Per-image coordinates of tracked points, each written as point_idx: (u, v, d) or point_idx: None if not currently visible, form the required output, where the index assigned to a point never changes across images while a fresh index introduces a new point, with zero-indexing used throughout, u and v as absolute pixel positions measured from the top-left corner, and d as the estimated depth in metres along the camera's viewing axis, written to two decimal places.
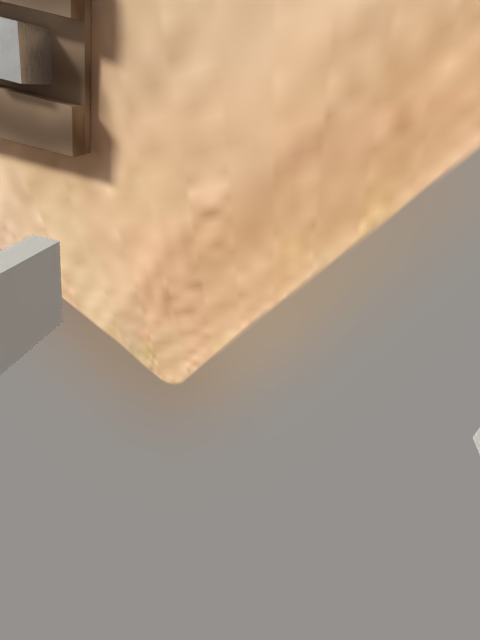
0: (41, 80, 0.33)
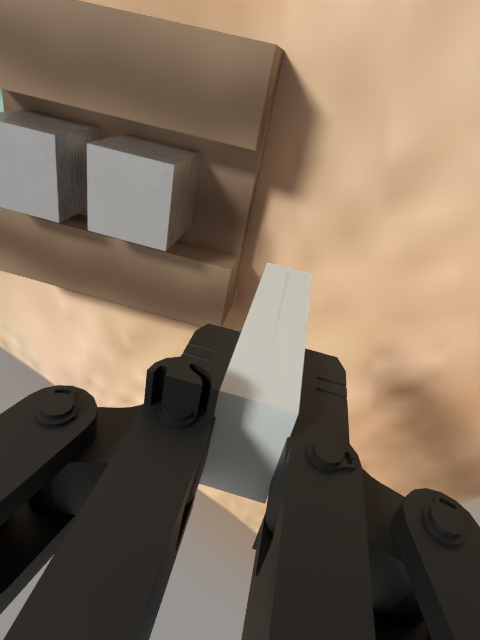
0: (183, 229, 0.21)
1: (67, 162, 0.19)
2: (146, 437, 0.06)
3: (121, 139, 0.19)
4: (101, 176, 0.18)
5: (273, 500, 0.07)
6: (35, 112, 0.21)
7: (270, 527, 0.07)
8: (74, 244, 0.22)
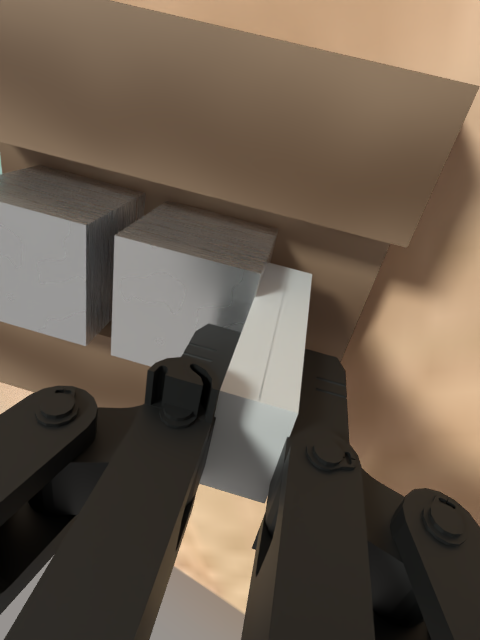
0: None
1: (102, 257, 0.12)
2: (146, 437, 0.06)
3: (163, 215, 0.13)
4: (136, 284, 0.11)
5: (273, 500, 0.07)
6: (48, 170, 0.14)
7: (270, 527, 0.07)
8: (102, 355, 0.15)
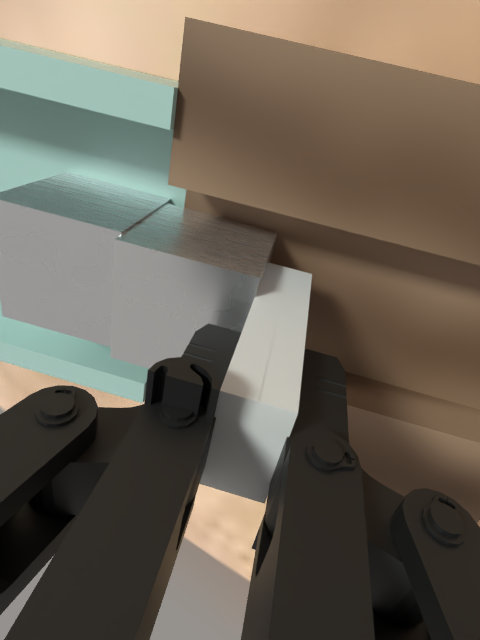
0: None
1: None
2: (146, 437, 0.06)
3: (163, 219, 0.13)
4: (136, 287, 0.11)
5: (272, 500, 0.07)
6: (76, 177, 0.14)
7: (269, 527, 0.07)
8: None
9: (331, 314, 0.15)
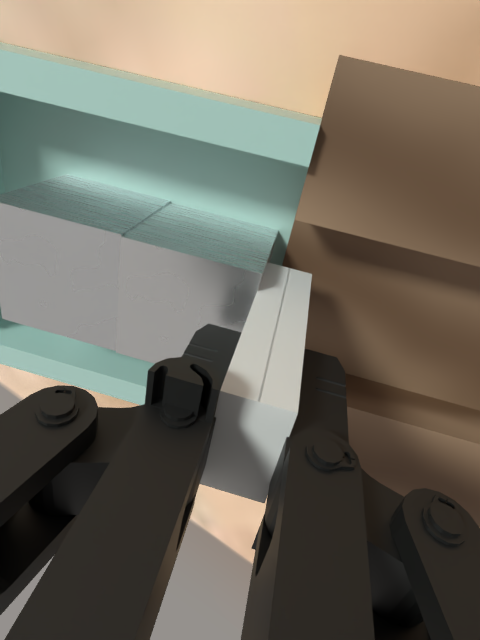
0: None
1: None
2: (147, 437, 0.06)
3: (166, 217, 0.13)
4: (141, 283, 0.12)
5: (272, 500, 0.07)
6: (76, 179, 0.14)
7: (269, 527, 0.07)
8: (378, 436, 0.15)
9: (433, 343, 0.15)
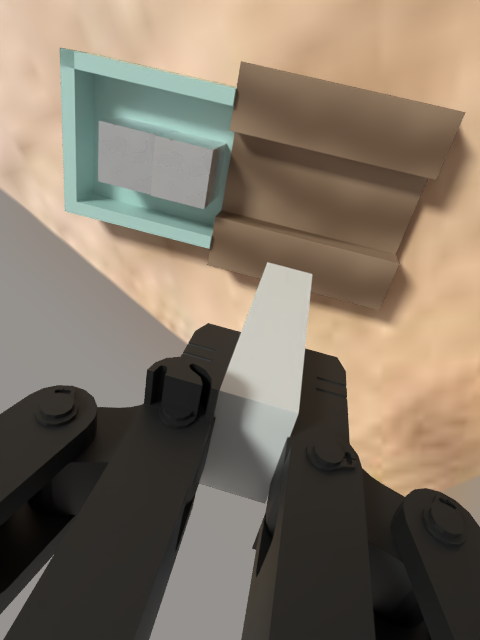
0: (213, 197, 0.30)
1: None
2: (146, 437, 0.06)
3: (173, 134, 0.29)
4: (163, 157, 0.27)
5: (273, 500, 0.07)
6: (130, 119, 0.30)
7: (270, 527, 0.07)
8: (277, 245, 0.30)
9: (304, 199, 0.30)
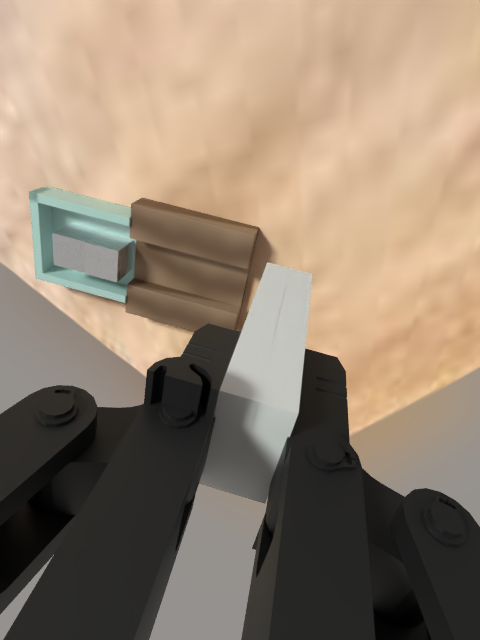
0: (126, 272, 0.49)
1: None
2: (146, 437, 0.06)
3: (99, 236, 0.48)
4: (90, 253, 0.46)
5: (273, 500, 0.07)
6: (74, 225, 0.49)
7: (270, 527, 0.07)
8: (165, 301, 0.49)
9: (181, 273, 0.49)
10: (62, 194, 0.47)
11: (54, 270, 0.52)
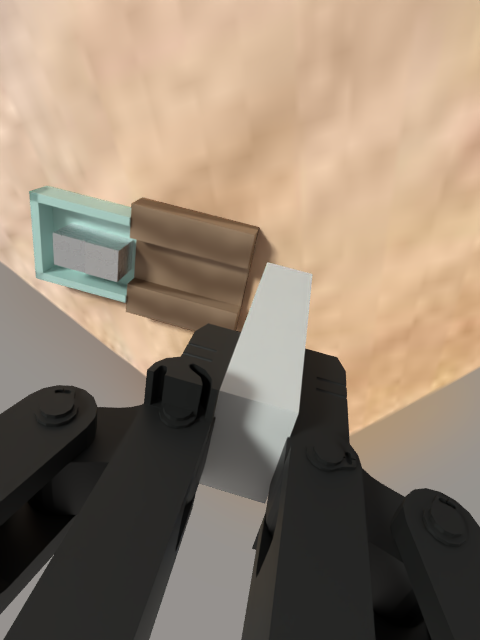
0: (126, 271, 0.49)
1: None
2: (146, 437, 0.06)
3: (99, 236, 0.48)
4: (91, 253, 0.46)
5: (273, 500, 0.07)
6: (74, 224, 0.49)
7: (270, 527, 0.07)
8: (165, 301, 0.49)
9: (182, 273, 0.49)
10: (62, 194, 0.47)
11: (54, 270, 0.52)
